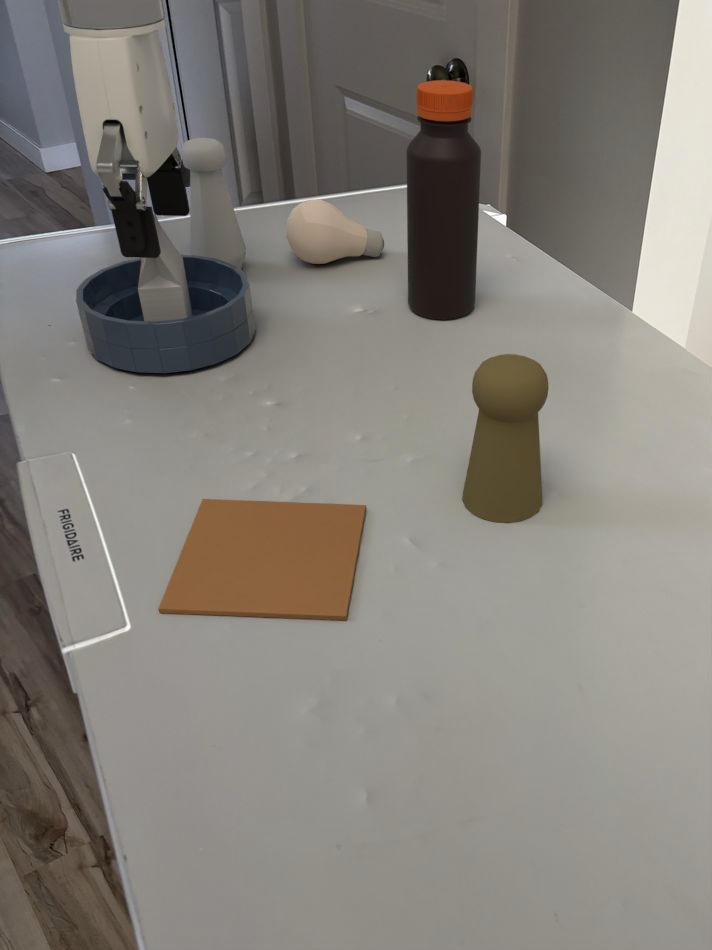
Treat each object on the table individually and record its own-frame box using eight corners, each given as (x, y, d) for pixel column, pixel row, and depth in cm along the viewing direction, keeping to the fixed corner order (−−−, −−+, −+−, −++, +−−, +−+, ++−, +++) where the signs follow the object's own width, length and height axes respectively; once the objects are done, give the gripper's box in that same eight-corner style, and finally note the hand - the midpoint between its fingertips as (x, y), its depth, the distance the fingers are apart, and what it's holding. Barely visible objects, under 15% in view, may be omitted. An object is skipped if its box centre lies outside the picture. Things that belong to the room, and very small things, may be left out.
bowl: (65, 374, 82) (50, 320, 79) (117, 301, 93) (106, 252, 90) (236, 380, 82) (228, 327, 79) (268, 306, 93) (262, 257, 90)
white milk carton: (192, 317, 90) (174, 212, 83) (192, 349, 85) (172, 240, 79) (153, 320, 90) (132, 214, 83) (151, 352, 85) (127, 242, 78)
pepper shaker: (458, 476, 71) (462, 343, 64) (536, 474, 72) (549, 342, 64) (466, 524, 67) (471, 387, 59) (549, 521, 67) (564, 384, 60)
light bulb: (386, 202, 103) (289, 180, 98) (398, 235, 99) (297, 214, 94) (370, 255, 107) (276, 236, 103) (380, 288, 103) (283, 270, 99)
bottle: (487, 303, 95) (498, 85, 82) (451, 327, 91) (457, 101, 77) (431, 287, 98) (433, 73, 84) (394, 310, 93) (390, 88, 80)
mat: (159, 613, 59) (158, 608, 59) (203, 503, 68) (202, 498, 68) (346, 620, 59) (346, 616, 59) (366, 509, 68) (366, 504, 68)
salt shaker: (240, 257, 102) (223, 129, 94) (255, 276, 99) (239, 145, 90) (187, 265, 100) (165, 136, 92) (201, 285, 97) (179, 152, 88)
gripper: (98, -15, 76) (143, 199, 88) (17, 28, 63) (82, 273, 75) (188, -14, 76) (222, 201, 88) (126, 30, 63) (174, 275, 75)
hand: (157, 234), depth 81 cm, fingers open, 9 cm apart
